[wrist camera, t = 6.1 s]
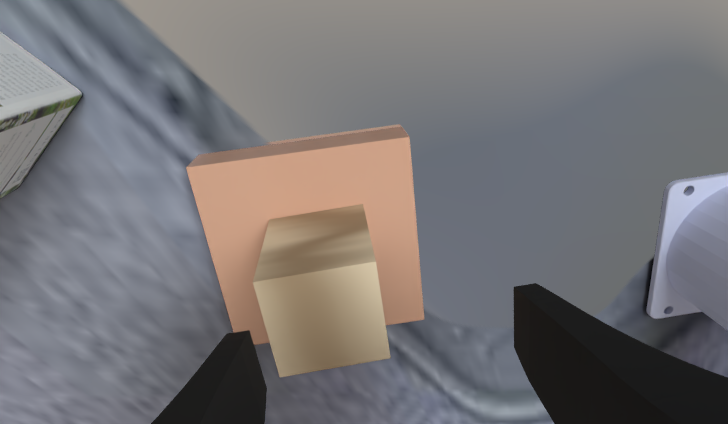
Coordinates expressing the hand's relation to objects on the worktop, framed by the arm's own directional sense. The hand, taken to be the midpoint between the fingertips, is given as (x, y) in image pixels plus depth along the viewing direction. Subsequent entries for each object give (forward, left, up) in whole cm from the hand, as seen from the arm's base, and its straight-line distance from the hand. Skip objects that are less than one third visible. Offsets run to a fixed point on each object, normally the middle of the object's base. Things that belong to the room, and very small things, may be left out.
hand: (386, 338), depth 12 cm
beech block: (+2, +1, -8) cm, 8 cm away
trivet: (+2, +1, -10) cm, 11 cm away
